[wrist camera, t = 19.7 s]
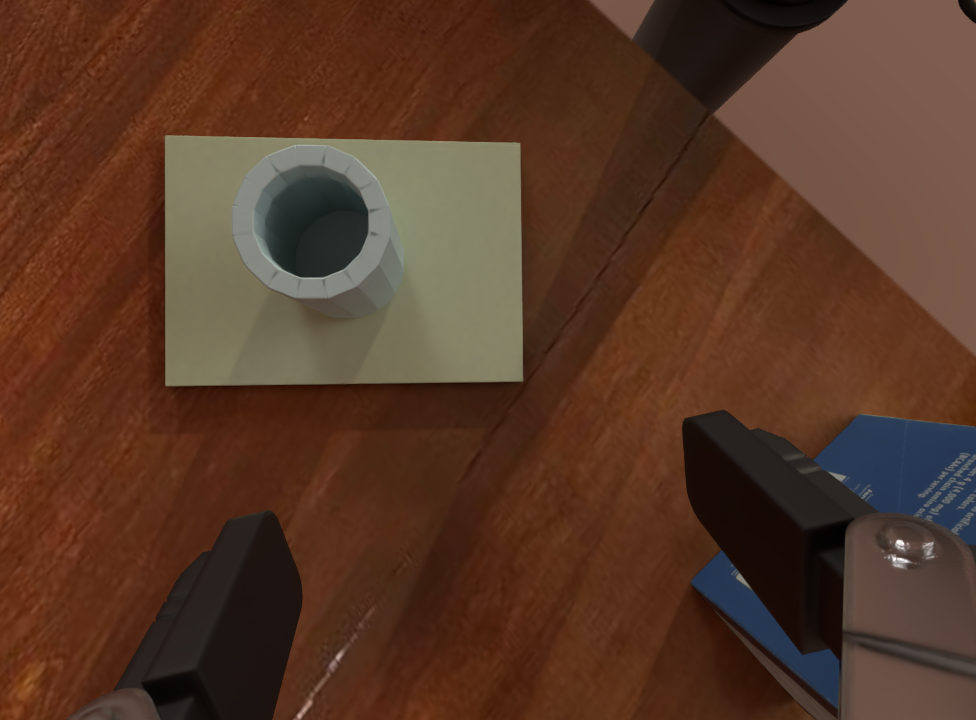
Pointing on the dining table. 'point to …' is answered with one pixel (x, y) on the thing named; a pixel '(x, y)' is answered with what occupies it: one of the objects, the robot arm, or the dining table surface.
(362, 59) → the dining table surface
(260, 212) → the cylindrical container
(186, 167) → the mat
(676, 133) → the dining table surface
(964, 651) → the robot arm
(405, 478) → the dining table surface
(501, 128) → the dining table surface
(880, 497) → the protein box
